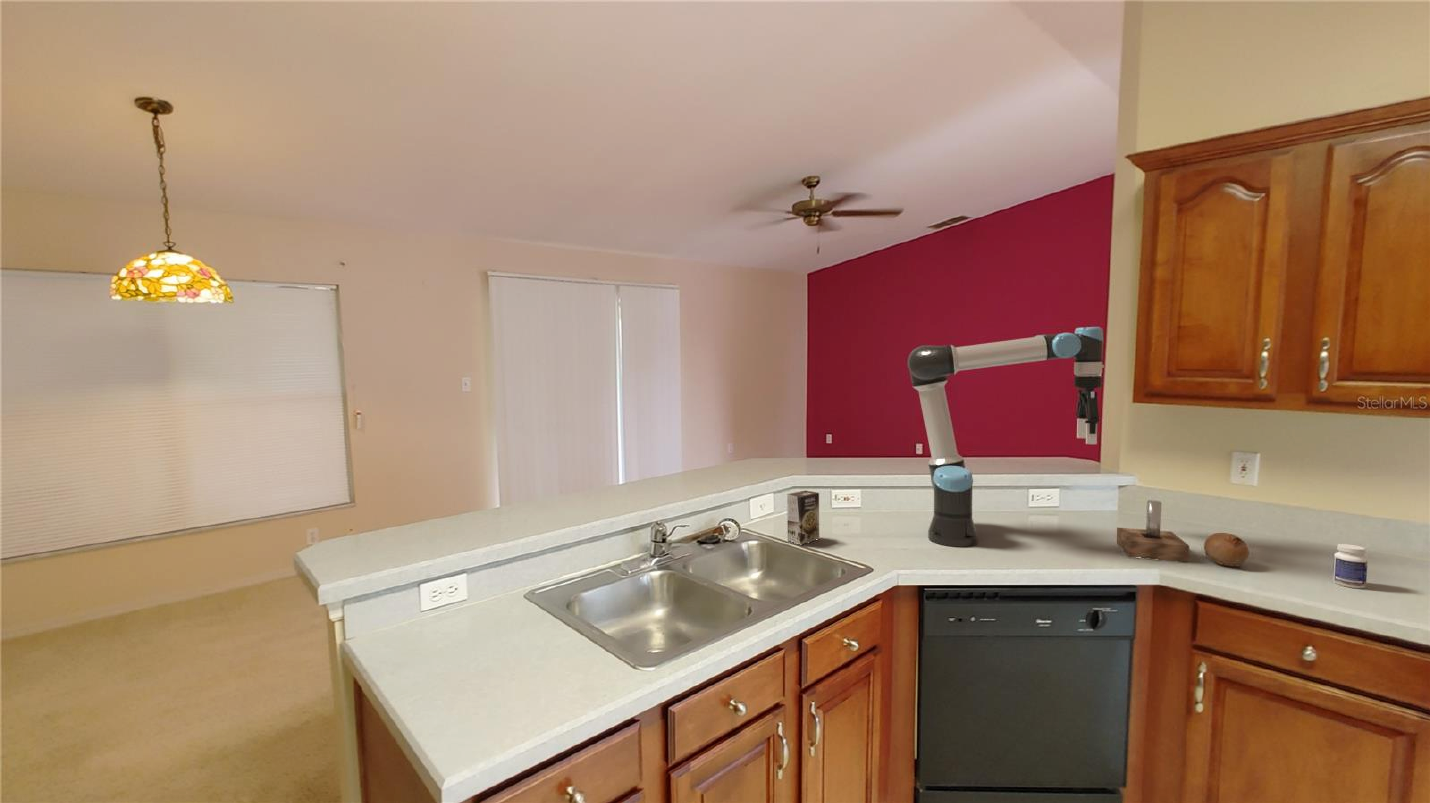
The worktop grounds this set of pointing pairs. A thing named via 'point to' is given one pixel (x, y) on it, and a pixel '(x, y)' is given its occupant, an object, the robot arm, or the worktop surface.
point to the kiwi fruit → (1226, 549)
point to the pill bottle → (1350, 566)
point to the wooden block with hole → (1152, 545)
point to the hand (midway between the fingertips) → (1086, 441)
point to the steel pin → (1153, 519)
